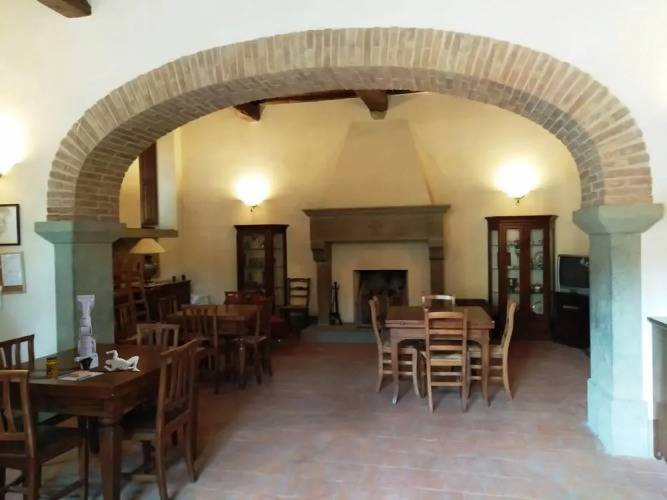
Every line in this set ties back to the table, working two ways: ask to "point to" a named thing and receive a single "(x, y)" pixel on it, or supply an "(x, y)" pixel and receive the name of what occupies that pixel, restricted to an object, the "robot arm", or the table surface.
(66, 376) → the board
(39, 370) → the table surface
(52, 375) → the condiment
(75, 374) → the tile
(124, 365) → the person figurine
